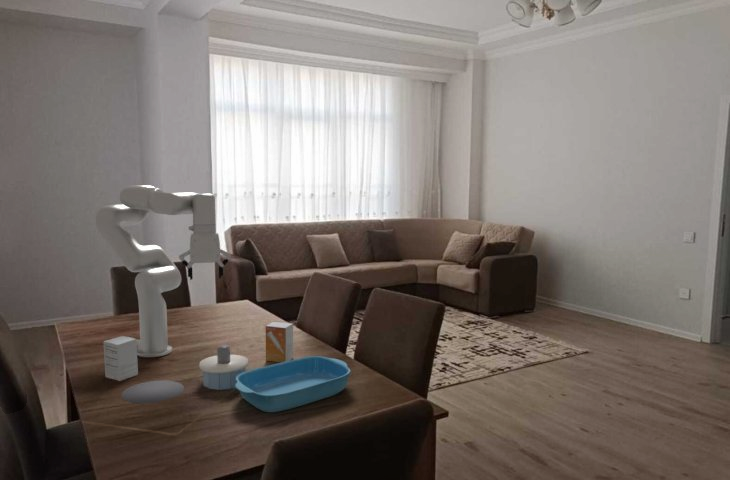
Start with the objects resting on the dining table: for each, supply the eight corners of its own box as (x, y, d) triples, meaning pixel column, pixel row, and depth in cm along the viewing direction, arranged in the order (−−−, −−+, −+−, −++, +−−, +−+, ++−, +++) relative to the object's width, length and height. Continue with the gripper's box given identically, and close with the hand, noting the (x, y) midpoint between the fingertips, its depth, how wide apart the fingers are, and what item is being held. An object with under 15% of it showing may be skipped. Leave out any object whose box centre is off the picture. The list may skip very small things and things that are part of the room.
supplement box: (124, 371, 189) (122, 335, 187) (138, 375, 185) (137, 338, 184) (104, 378, 183) (102, 340, 181) (119, 382, 179) (117, 344, 177)
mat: (107, 401, 164) (107, 399, 164) (145, 379, 182) (145, 378, 182) (161, 407, 160) (161, 406, 160) (195, 385, 177) (195, 383, 177)
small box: (265, 361, 201) (264, 325, 199) (273, 355, 207) (273, 321, 205) (286, 363, 198) (285, 327, 197) (293, 358, 204) (293, 323, 203)
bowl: (195, 388, 175) (194, 369, 174) (216, 374, 187) (215, 356, 186) (233, 392, 171) (233, 373, 171) (252, 377, 184) (251, 360, 183)
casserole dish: (257, 424, 151) (257, 399, 150) (221, 398, 168) (221, 375, 167) (364, 392, 174) (364, 369, 173) (323, 371, 191) (323, 351, 190)
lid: (190, 370, 173) (189, 351, 172) (214, 355, 188) (214, 338, 187) (234, 375, 170) (234, 356, 169) (255, 359, 184) (255, 341, 183)
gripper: (177, 231, 187) (179, 281, 189) (230, 230, 192) (231, 279, 194) (178, 228, 194) (180, 277, 196) (229, 228, 199) (230, 275, 201)
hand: (205, 278), depth 195 cm, fingers open, 9 cm apart
